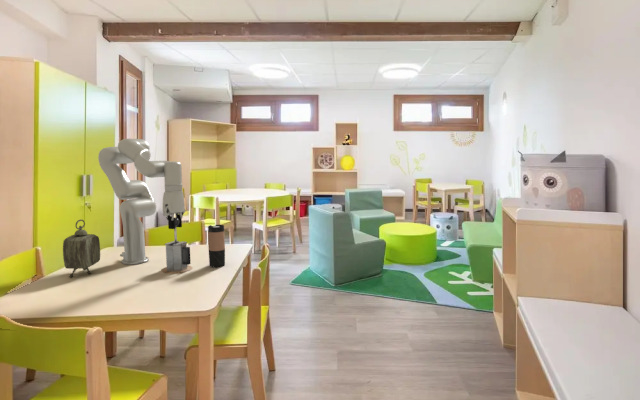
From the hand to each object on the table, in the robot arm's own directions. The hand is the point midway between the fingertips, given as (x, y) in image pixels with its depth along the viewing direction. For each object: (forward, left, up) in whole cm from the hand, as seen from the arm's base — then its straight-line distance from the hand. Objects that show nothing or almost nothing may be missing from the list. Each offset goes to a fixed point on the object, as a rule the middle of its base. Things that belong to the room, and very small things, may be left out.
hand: (175, 227), depth 191 cm
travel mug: (+14, +12, -21) cm, 28 cm away
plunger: (0, 0, -11) cm, 11 cm away
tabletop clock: (-36, -20, -21) cm, 45 cm away
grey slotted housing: (+1, 0, -20) cm, 20 cm away
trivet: (0, 0, -20) cm, 20 cm away
